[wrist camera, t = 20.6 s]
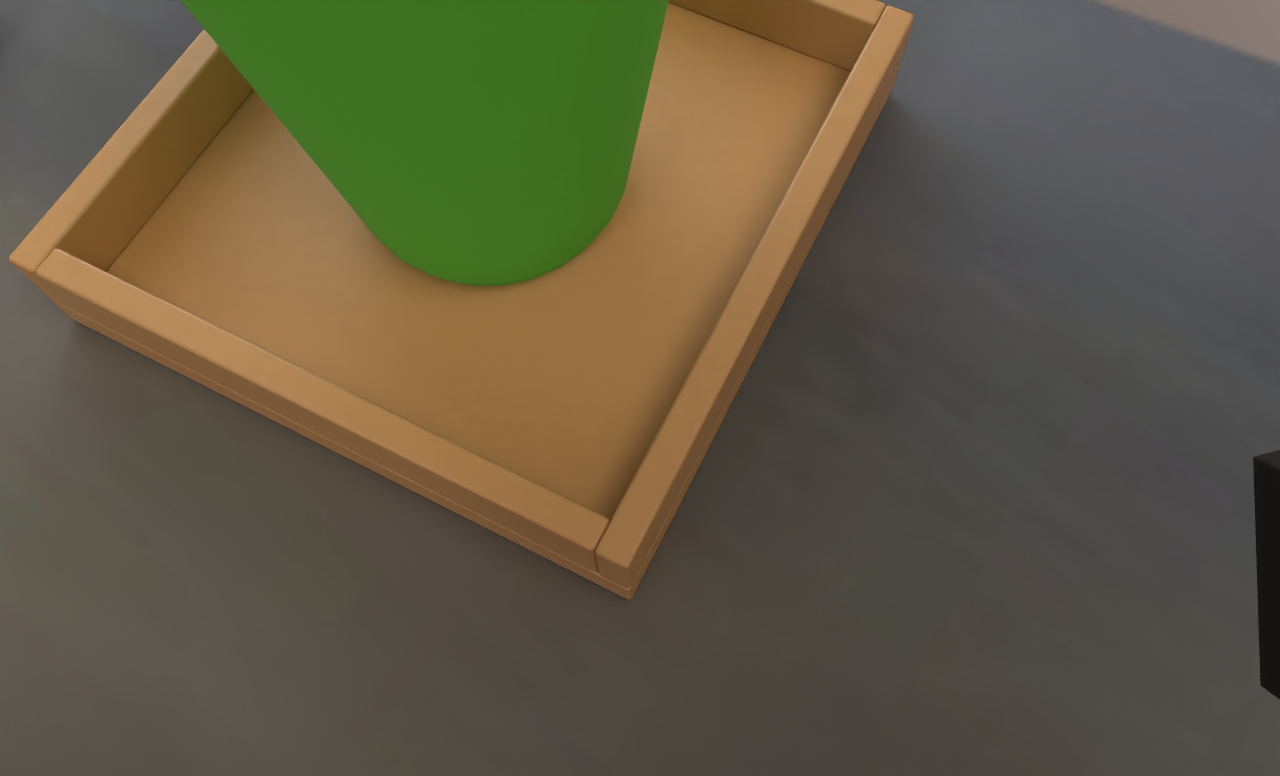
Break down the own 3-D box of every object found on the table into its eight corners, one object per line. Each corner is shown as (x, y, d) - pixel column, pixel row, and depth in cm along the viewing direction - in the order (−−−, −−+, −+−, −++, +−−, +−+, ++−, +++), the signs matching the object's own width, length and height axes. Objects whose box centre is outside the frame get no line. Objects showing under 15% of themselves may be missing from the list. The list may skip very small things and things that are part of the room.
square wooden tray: (891, 91, 23) (916, 13, 20) (630, 601, 18) (627, 569, 16) (404, -95, 25) (381, -182, 23) (70, 319, 21) (4, 258, 18)
